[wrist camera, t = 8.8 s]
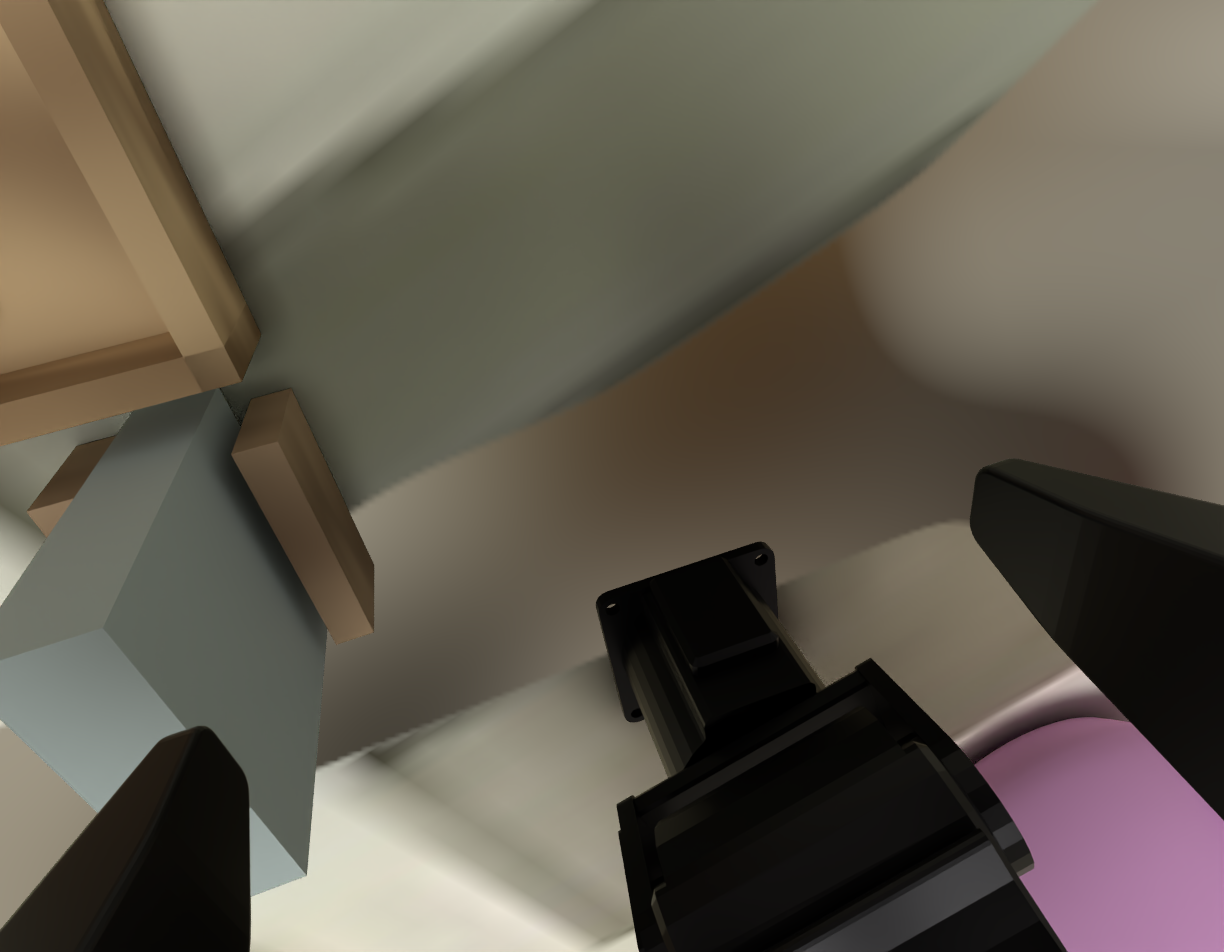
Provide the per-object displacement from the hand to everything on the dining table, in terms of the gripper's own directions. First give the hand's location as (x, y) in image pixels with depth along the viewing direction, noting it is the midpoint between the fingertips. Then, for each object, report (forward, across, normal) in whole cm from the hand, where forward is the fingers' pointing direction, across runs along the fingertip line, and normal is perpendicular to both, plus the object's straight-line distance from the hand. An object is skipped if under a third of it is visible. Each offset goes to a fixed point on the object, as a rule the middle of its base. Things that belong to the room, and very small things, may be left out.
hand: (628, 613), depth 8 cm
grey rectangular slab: (+13, +8, +4) cm, 15 cm away
